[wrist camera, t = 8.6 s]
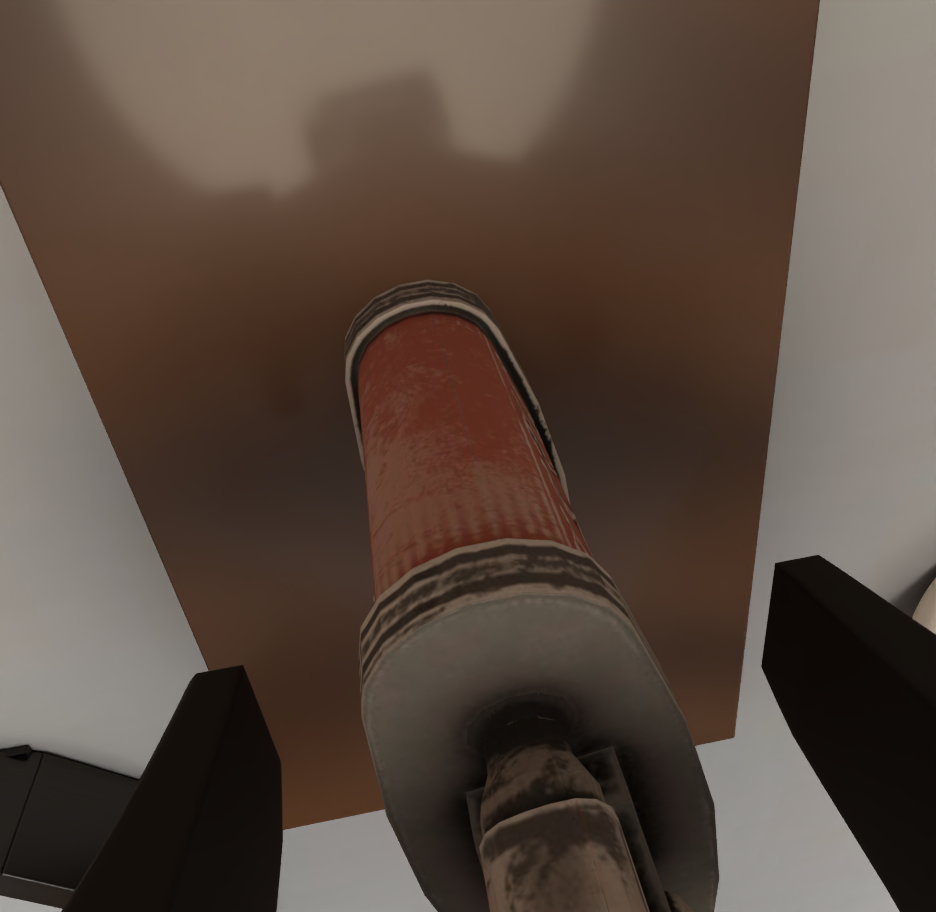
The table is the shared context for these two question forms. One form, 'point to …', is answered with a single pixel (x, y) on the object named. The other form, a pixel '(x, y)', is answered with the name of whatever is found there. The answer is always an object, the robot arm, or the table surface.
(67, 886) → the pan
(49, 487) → the table surface
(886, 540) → the table surface
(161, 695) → the table surface
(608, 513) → the board
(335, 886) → the table surface
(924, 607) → the mug
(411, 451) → the lighter
